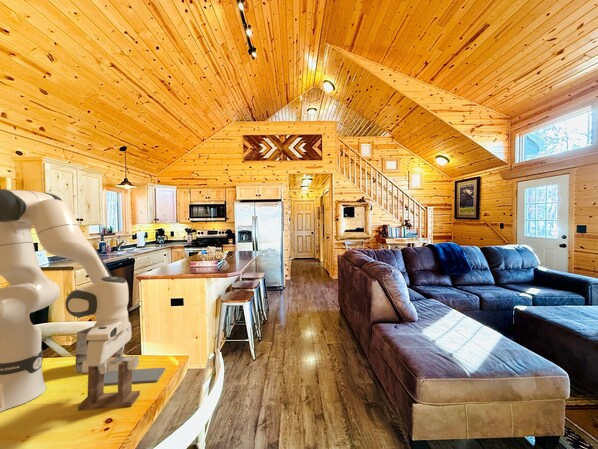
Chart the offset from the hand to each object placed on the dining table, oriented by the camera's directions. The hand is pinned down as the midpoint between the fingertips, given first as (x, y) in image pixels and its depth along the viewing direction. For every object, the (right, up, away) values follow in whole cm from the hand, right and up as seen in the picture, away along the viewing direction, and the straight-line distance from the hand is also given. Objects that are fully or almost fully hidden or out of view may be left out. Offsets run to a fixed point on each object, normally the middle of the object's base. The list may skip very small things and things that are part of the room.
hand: (111, 365), depth 89 cm
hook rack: (0, -12, 0) cm, 12 cm away
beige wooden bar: (0, -1, 0) cm, 1 cm away
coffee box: (-24, -13, +22) cm, 34 cm away
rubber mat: (-3, -13, +15) cm, 19 cm away
